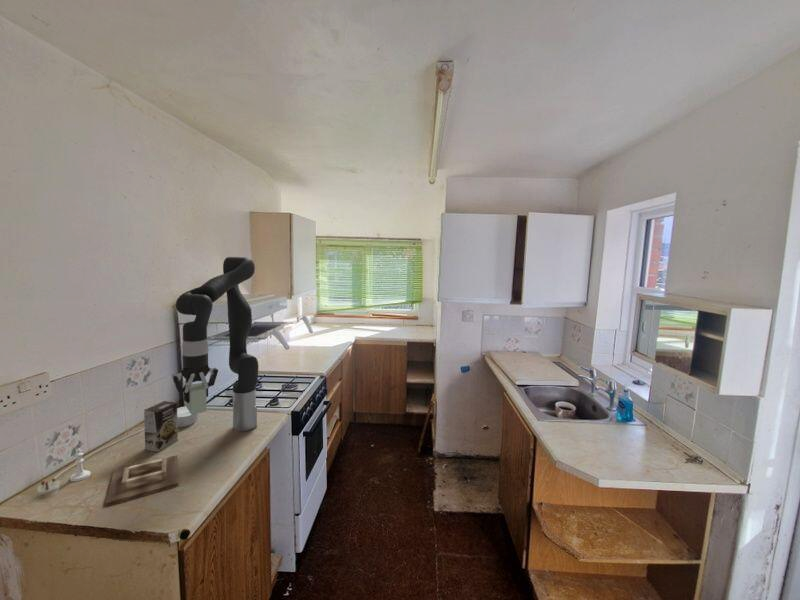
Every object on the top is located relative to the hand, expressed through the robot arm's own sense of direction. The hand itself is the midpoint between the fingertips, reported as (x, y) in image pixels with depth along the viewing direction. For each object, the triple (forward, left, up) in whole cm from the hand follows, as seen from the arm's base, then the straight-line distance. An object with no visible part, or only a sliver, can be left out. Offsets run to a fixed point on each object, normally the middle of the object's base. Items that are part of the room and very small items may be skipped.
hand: (196, 400), depth 115 cm
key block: (0, 0, -3) cm, 3 cm away
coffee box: (+11, -24, -26) cm, 37 cm away
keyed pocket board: (+15, -2, -26) cm, 29 cm away
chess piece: (+33, -14, -26) cm, 44 cm away
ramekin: (+3, -41, -26) cm, 48 cm away
